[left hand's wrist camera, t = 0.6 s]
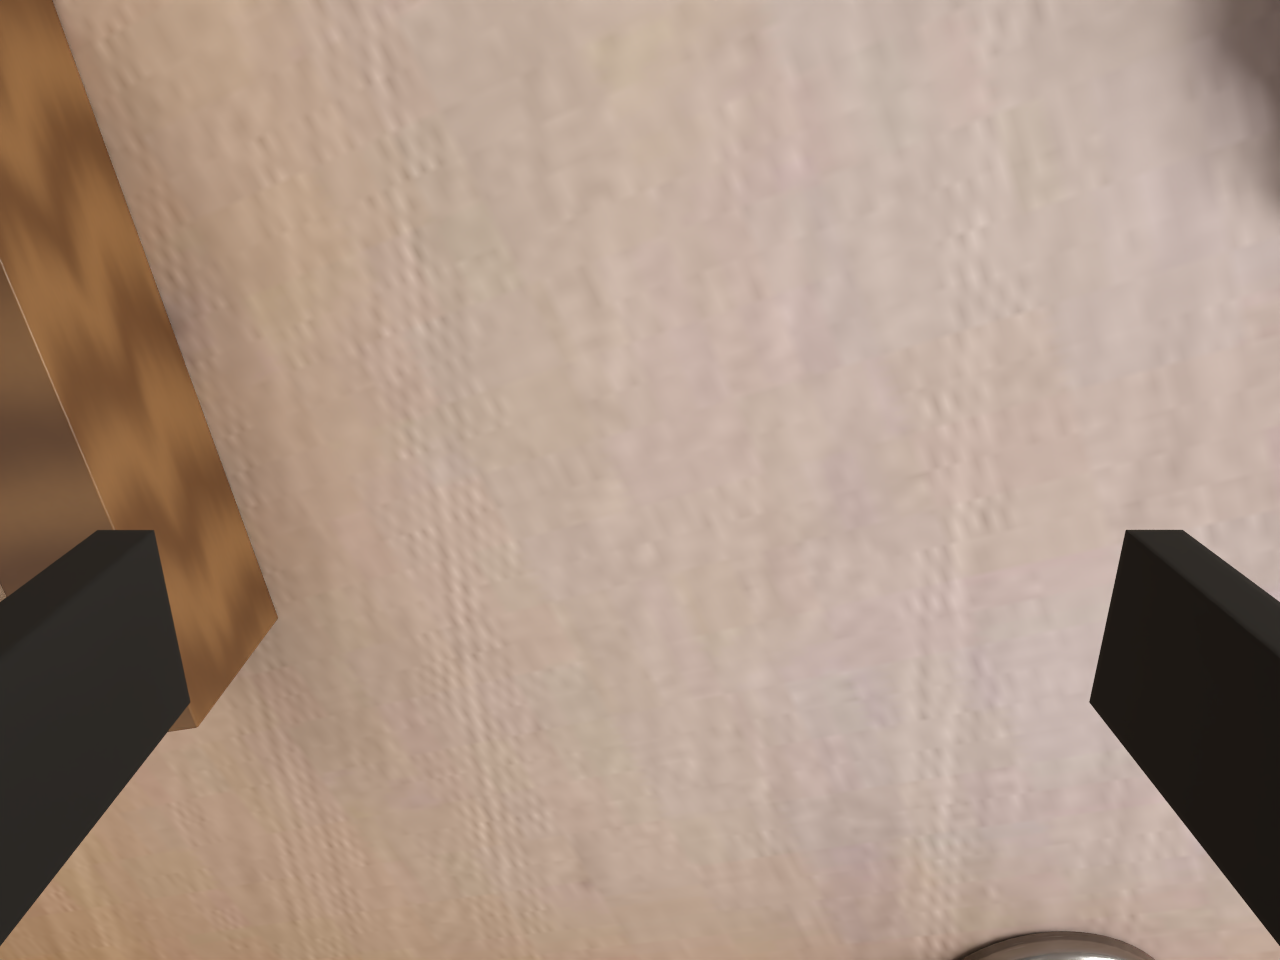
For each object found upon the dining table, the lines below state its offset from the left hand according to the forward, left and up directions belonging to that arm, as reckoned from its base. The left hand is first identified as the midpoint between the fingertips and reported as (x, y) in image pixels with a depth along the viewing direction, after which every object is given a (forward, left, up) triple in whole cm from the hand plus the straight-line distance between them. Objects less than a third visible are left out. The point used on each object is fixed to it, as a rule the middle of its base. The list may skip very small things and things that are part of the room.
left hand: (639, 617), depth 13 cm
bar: (+4, -20, -25) cm, 32 cm away
